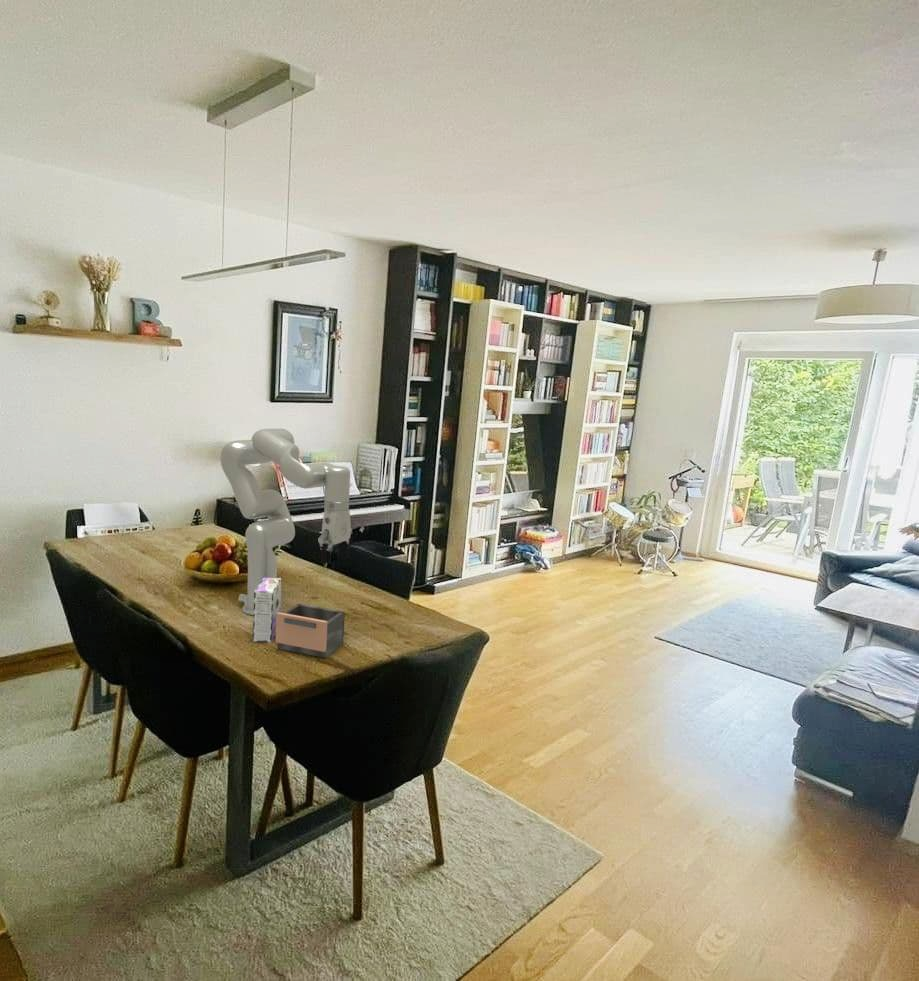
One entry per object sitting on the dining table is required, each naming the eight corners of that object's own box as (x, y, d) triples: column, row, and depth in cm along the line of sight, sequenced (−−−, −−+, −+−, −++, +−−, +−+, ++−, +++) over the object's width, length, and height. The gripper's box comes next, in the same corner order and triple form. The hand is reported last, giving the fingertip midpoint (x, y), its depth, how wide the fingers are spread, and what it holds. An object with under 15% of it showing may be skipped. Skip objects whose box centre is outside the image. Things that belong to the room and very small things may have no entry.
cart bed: (277, 648, 185) (278, 615, 183) (297, 634, 195) (298, 603, 194) (326, 658, 181) (327, 624, 179) (343, 643, 191) (344, 611, 190)
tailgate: (274, 643, 182) (275, 614, 181) (277, 640, 184) (278, 612, 182) (323, 652, 178) (324, 623, 177) (326, 650, 180) (327, 621, 178)
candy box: (262, 624, 201) (263, 576, 198) (280, 625, 202) (282, 577, 199) (252, 642, 188) (253, 590, 185) (271, 642, 188) (273, 591, 185)
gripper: (331, 511, 182) (329, 567, 185) (361, 503, 198) (359, 555, 201) (310, 508, 185) (308, 563, 187) (341, 500, 201) (339, 551, 203)
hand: (334, 559), depth 194 cm, fingers open, 9 cm apart
